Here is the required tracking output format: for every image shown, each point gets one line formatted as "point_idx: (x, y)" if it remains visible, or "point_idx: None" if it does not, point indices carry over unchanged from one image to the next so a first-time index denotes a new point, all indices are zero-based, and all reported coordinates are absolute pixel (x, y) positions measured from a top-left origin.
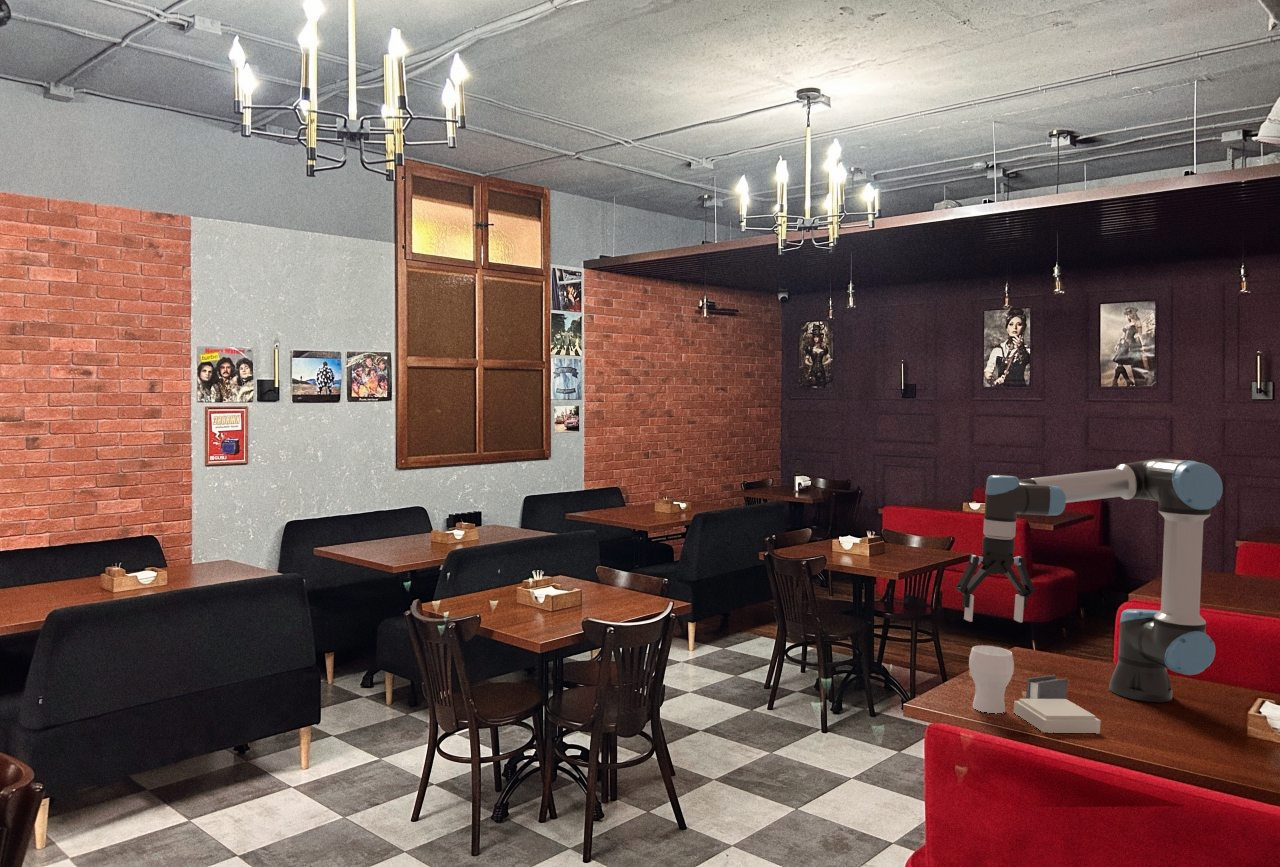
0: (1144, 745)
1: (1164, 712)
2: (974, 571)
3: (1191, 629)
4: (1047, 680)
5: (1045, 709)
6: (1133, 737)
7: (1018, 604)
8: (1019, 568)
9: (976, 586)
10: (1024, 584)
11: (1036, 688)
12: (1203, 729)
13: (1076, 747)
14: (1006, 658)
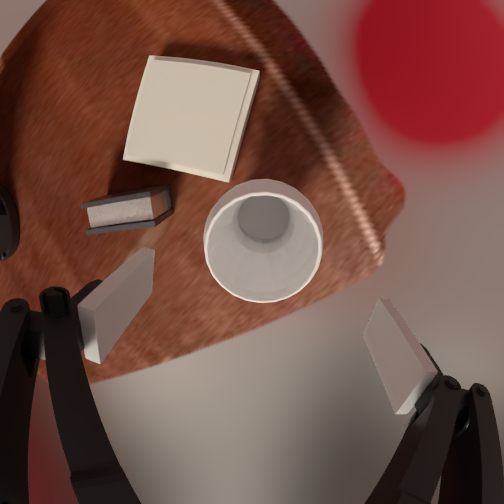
0: (135, 19)
1: (11, 148)
2: (484, 490)
3: None
4: (111, 220)
5: (220, 103)
6: (120, 47)
7: (120, 305)
8: (7, 483)
9: (434, 415)
10: (28, 377)
11: (154, 201)
12: (19, 84)
13: (253, 21)
14: (261, 189)
